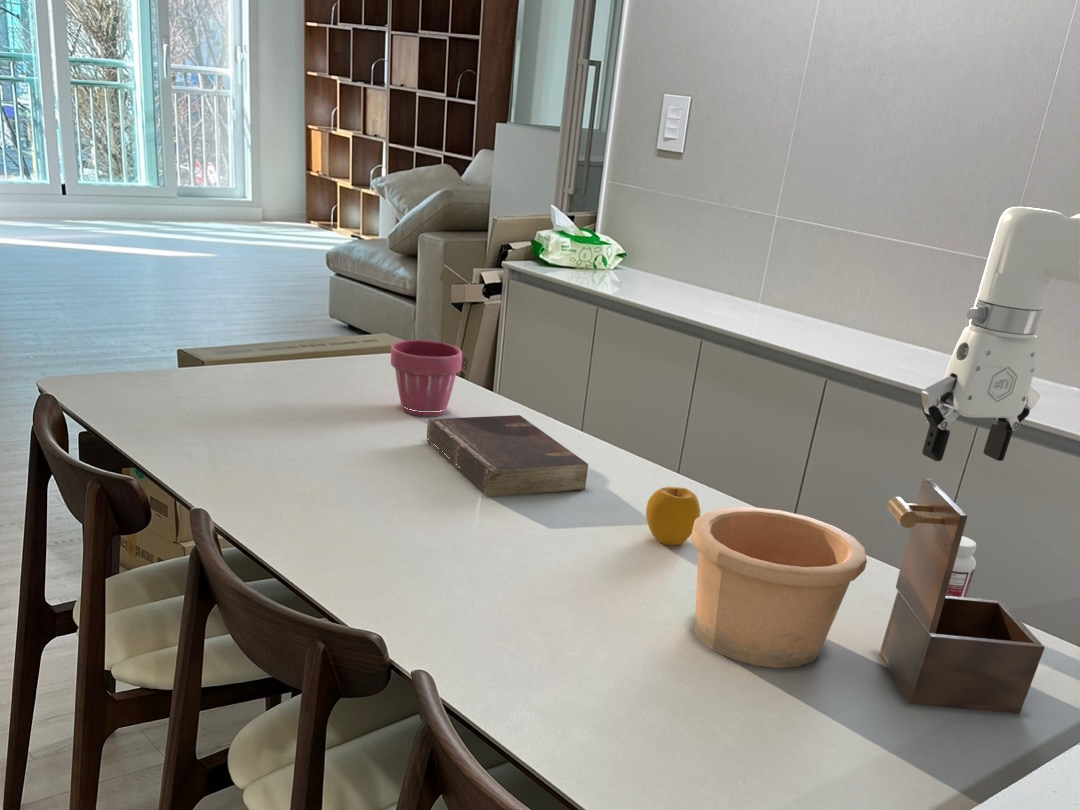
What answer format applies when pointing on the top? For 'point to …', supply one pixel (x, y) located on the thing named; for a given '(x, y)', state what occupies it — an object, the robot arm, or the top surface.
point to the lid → (928, 550)
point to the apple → (672, 514)
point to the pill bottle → (962, 569)
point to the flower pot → (425, 374)
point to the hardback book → (506, 455)
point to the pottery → (770, 583)
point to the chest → (962, 656)
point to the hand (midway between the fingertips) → (962, 457)
